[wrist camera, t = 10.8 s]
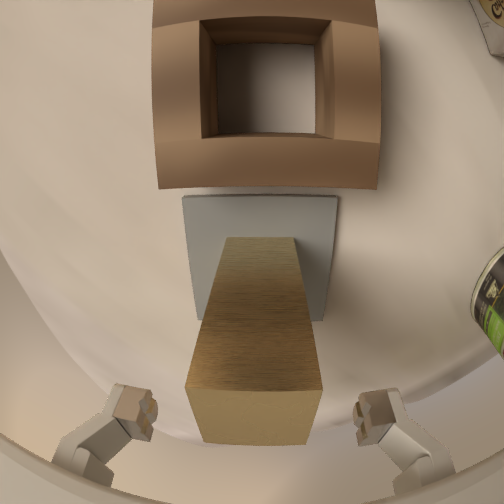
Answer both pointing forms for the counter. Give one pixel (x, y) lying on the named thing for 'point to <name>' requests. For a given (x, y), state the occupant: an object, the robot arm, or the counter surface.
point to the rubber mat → (261, 225)
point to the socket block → (266, 143)
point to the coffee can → (491, 301)
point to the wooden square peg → (256, 349)
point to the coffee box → (491, 23)
